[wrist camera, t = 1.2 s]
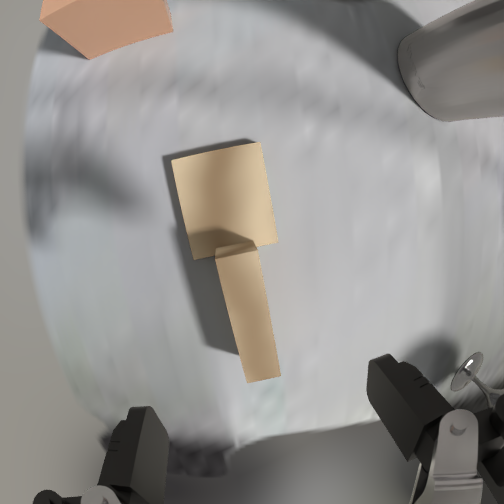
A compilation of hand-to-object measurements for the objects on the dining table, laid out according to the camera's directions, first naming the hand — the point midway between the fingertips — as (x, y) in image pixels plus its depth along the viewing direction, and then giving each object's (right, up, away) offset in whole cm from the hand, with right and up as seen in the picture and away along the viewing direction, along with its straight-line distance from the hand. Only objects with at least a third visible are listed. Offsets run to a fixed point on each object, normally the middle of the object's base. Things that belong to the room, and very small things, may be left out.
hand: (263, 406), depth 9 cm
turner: (-1, +5, +12) cm, 13 cm away
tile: (-9, +21, +2) cm, 23 cm away
